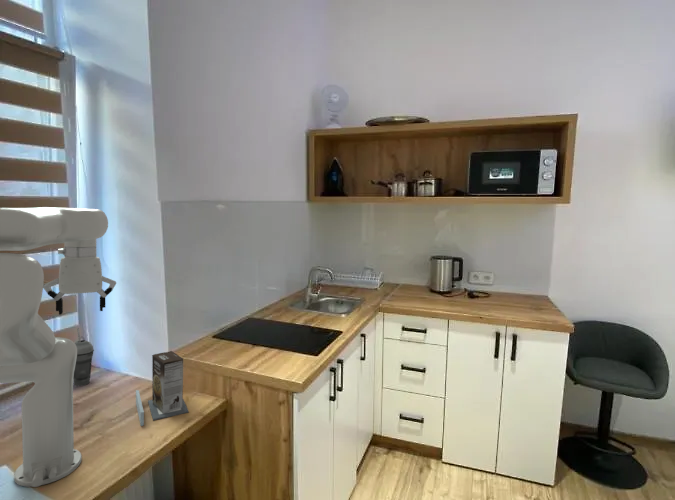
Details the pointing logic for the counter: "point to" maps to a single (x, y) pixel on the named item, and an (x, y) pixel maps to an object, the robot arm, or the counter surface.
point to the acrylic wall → (139, 408)
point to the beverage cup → (83, 362)
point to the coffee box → (167, 381)
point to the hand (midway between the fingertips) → (81, 311)
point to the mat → (159, 415)
